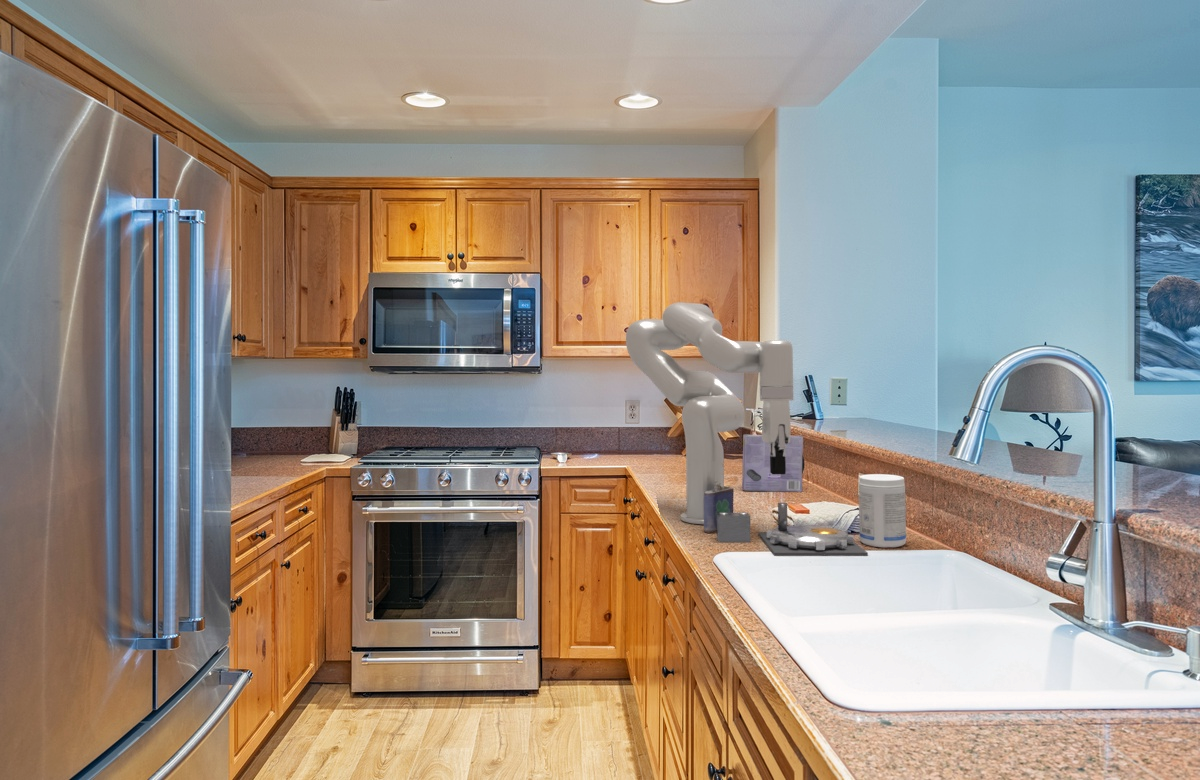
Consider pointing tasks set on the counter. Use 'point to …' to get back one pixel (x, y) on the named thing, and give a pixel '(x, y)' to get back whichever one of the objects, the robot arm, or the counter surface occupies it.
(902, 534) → the supplement tub
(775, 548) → the base mat
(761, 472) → the purple product box
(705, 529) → the flask
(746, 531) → the grey rectangular block
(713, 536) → the counter surface
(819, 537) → the sprocket
